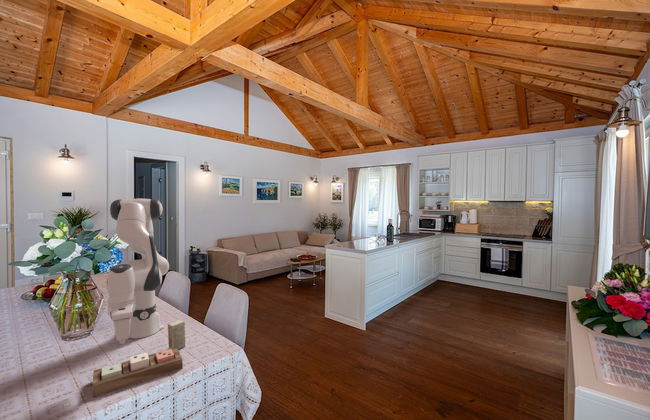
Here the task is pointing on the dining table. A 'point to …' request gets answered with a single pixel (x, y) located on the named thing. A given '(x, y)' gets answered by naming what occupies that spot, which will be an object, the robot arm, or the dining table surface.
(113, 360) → the dining table surface
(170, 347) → the skincare box
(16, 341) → the dining table surface
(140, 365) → the tile
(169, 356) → the three-pip tile
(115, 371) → the tile
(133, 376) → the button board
